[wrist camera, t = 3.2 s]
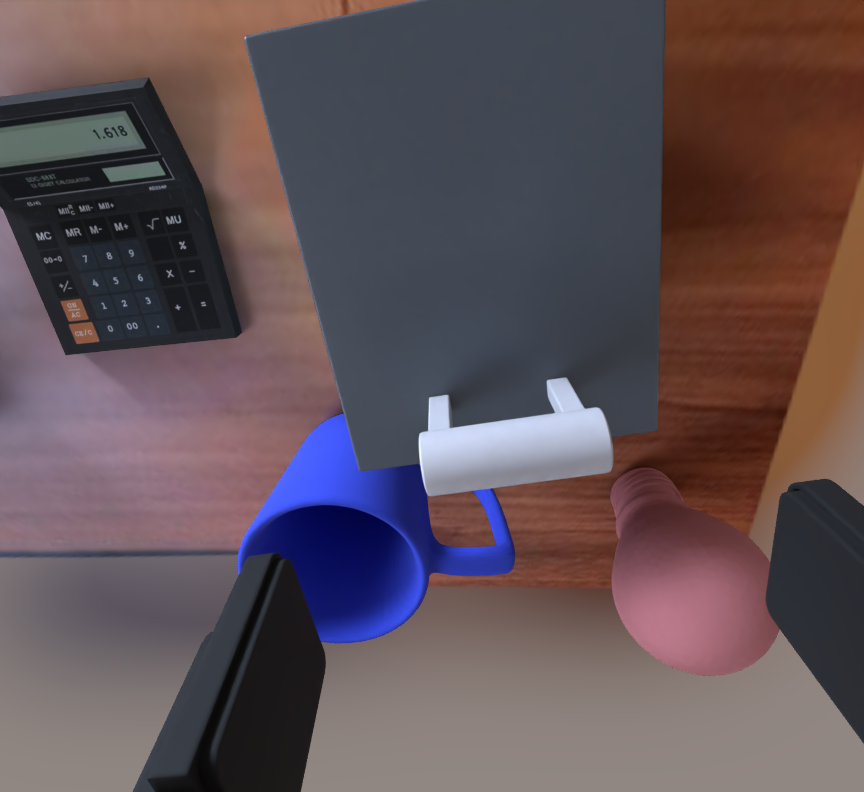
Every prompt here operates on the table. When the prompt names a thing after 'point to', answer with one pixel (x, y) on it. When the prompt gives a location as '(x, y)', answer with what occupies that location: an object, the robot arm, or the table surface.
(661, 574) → the light bulb
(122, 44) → the table surface
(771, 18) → the table surface
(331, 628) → the mug
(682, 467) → the table surface
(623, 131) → the lid
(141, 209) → the calculator
